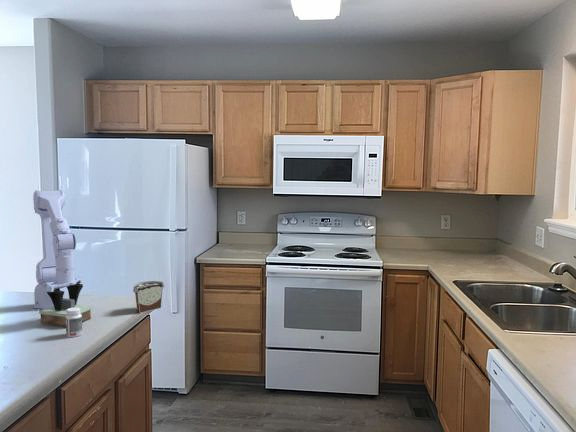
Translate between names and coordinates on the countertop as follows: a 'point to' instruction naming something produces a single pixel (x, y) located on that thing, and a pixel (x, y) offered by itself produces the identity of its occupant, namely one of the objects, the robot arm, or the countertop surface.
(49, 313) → the lid
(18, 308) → the countertop surface
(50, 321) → the crate
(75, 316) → the pill bottle
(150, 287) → the food container
